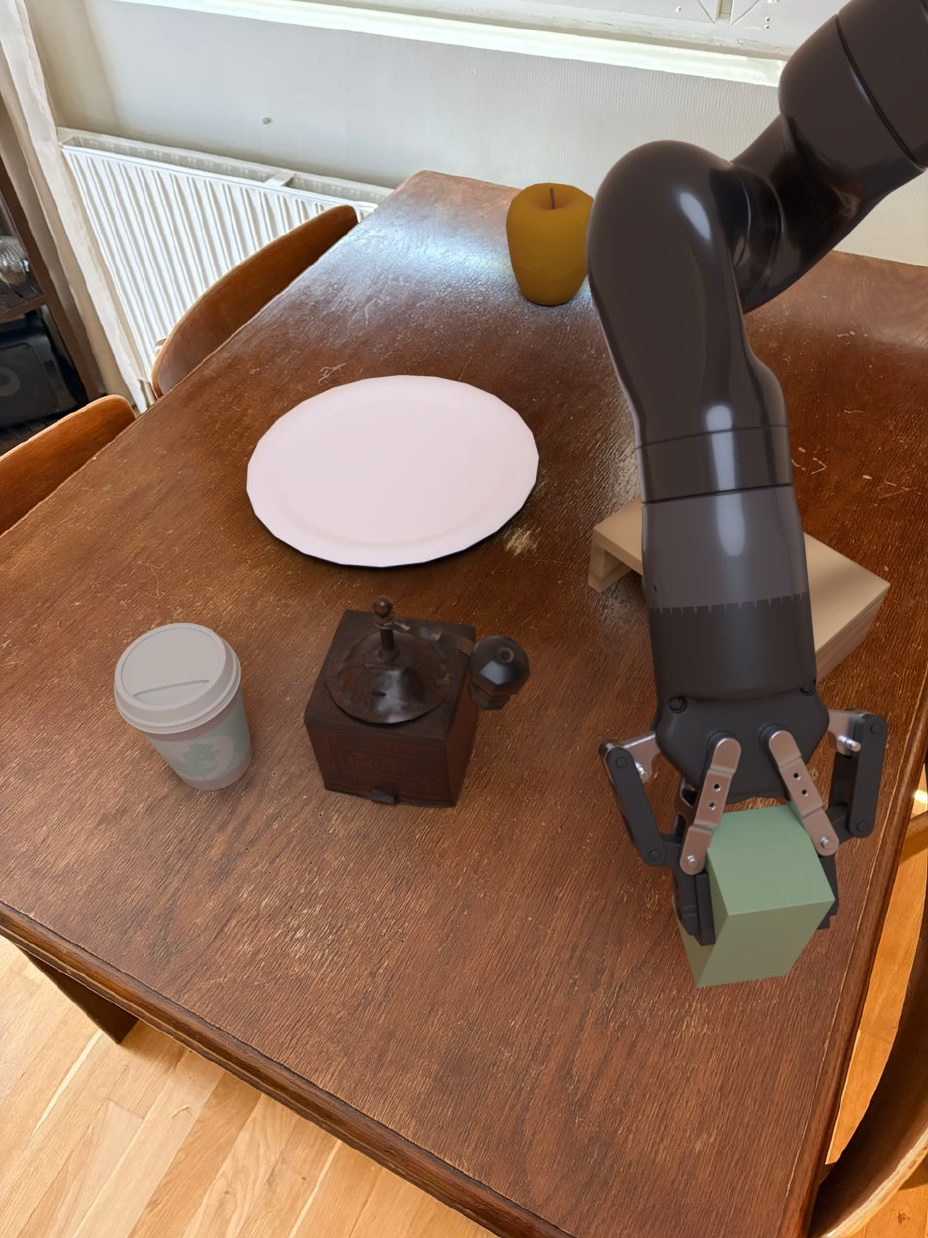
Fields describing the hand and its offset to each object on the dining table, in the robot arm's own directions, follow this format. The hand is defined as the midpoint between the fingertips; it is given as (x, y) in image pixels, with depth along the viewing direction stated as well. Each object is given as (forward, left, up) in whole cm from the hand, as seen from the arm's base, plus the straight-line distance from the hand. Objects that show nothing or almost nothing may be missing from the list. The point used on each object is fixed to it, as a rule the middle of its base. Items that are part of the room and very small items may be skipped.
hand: (759, 929), depth 44 cm
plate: (+55, -18, -15) cm, 59 cm away
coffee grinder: (+27, 0, -15) cm, 30 cm away
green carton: (+2, -1, -6) cm, 6 cm away
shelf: (+21, -27, -15) cm, 37 cm away
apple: (+68, -53, -15) cm, 87 cm away
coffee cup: (+38, +13, -15) cm, 42 cm away
